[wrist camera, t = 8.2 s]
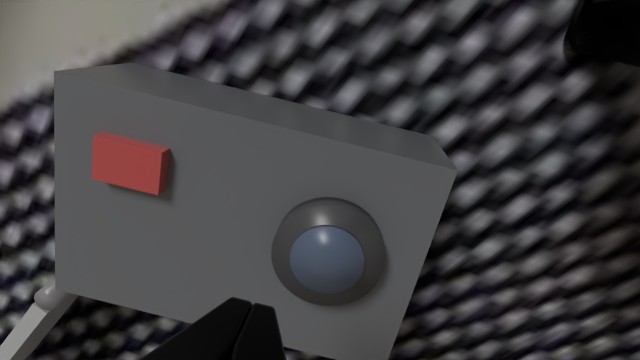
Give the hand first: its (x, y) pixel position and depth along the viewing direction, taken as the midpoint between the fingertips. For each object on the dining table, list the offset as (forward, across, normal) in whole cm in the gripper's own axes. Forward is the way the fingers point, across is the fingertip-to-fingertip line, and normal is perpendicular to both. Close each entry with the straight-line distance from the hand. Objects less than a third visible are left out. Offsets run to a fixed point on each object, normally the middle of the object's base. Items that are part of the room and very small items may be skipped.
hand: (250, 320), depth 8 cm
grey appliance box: (+12, +2, +2) cm, 12 cm away
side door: (+12, +12, +12) cm, 21 cm away
